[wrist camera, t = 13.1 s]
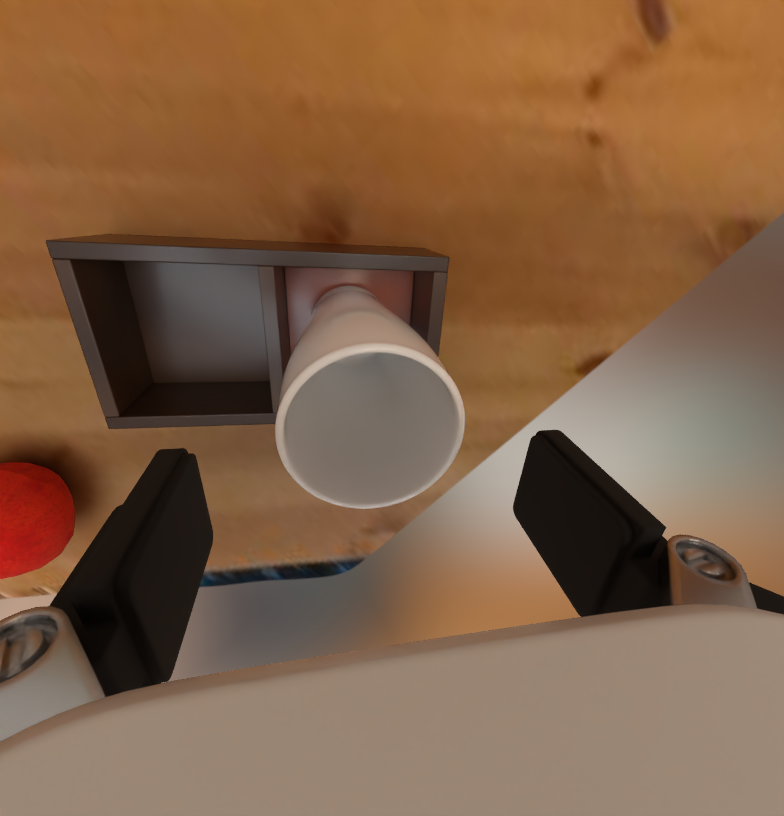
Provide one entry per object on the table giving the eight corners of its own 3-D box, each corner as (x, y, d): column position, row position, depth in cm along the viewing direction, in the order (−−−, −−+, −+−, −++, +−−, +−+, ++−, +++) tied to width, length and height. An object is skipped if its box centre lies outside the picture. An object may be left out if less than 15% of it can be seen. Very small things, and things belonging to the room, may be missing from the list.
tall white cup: (319, 254, 24) (313, 306, 11) (413, 297, 26) (504, 385, 13) (285, 349, 26) (246, 487, 13) (373, 382, 28) (416, 528, 15)
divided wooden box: (107, 233, 22) (44, 240, 17) (424, 248, 26) (449, 257, 20) (149, 388, 27) (108, 429, 22) (413, 384, 30) (431, 419, 25)
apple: (117, 516, 31) (62, 595, 25) (11, 529, 30) (-74, 615, 24) (76, 435, 28) (0, 503, 21) (-46, 447, 27) (-165, 522, 20)
